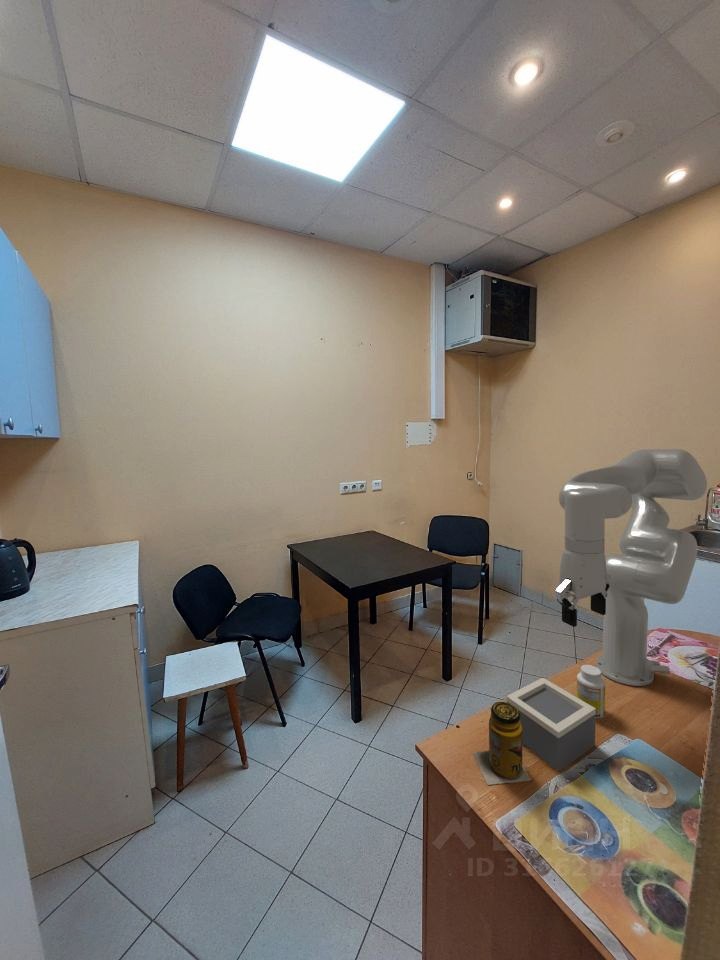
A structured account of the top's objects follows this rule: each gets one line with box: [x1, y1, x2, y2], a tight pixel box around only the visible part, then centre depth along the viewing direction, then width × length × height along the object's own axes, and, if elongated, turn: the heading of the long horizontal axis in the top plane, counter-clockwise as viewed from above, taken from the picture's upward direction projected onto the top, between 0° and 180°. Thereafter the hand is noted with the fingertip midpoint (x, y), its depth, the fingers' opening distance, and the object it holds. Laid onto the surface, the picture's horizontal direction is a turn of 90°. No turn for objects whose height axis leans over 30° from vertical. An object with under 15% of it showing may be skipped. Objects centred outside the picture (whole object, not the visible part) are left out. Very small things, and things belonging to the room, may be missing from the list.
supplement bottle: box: [576, 664, 606, 719], centre depth 87 cm, size 6×6×10 cm
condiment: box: [472, 701, 532, 786], centre depth 73 cm, size 7×8×12 cm
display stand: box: [506, 677, 596, 773], centre depth 80 cm, size 12×12×8 cm
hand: (583, 618), depth 85 cm, fingers open, 9 cm apart
